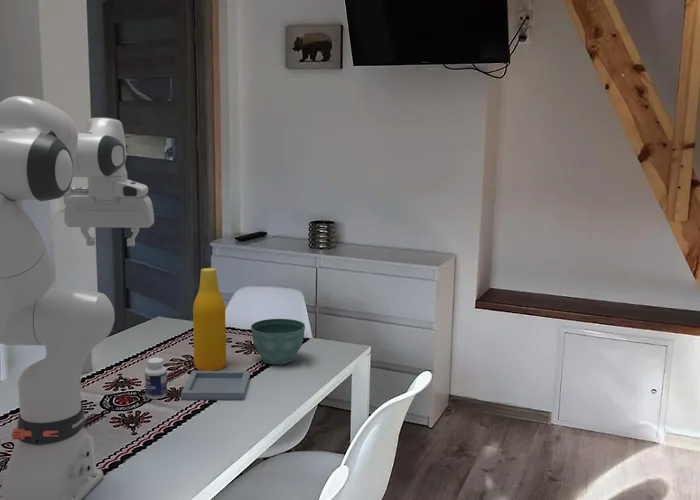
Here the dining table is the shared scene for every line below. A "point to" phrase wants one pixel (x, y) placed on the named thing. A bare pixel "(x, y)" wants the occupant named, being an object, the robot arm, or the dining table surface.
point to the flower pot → (278, 339)
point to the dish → (216, 385)
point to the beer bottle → (209, 324)
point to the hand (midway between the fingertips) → (111, 245)
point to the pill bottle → (155, 379)
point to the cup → (87, 364)
